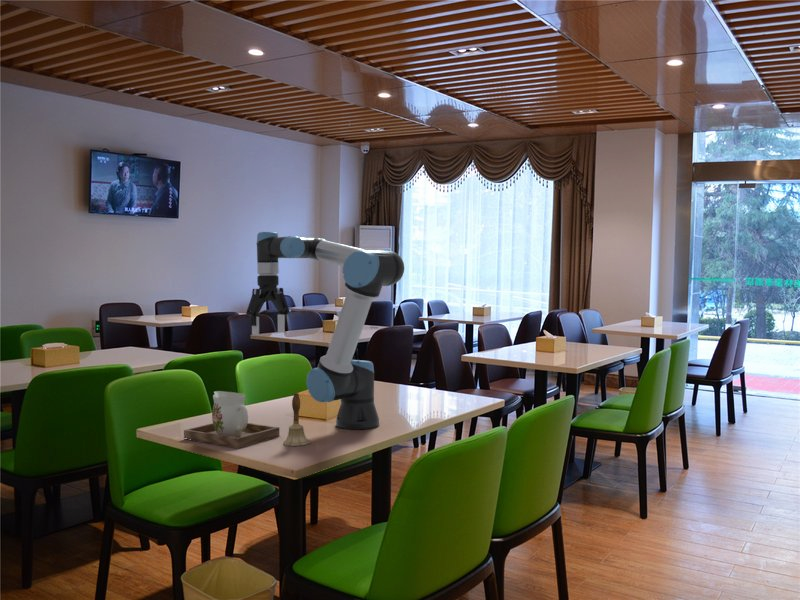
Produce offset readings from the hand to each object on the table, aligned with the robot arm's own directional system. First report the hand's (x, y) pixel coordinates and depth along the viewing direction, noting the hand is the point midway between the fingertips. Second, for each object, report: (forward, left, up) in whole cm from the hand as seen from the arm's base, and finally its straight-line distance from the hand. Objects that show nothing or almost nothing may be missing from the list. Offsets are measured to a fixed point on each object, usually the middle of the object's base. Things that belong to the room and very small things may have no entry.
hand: (268, 333), depth 267 cm
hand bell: (-31, +22, -32) cm, 50 cm away
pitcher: (-8, +27, -31) cm, 42 cm away
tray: (-8, +27, -32) cm, 42 cm away
